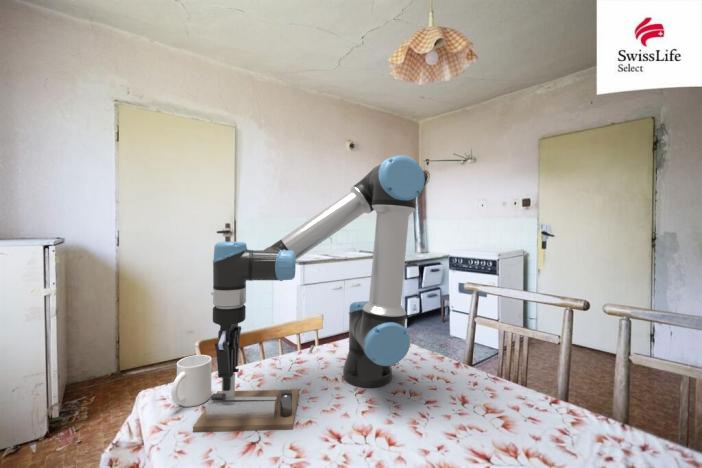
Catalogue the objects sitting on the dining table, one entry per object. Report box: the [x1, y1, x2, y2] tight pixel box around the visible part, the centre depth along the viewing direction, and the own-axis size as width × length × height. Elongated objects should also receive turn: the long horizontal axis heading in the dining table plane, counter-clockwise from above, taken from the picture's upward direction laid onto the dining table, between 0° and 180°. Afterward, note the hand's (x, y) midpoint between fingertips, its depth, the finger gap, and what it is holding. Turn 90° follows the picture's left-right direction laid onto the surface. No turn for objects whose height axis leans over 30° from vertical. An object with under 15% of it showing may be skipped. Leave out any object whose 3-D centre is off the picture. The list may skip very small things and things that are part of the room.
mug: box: [171, 354, 213, 408], centre depth 85 cm, size 12×8×10 cm
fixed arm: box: [205, 391, 292, 420], centre depth 78 cm, size 19×3×5 cm, turn 94°
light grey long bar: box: [209, 393, 277, 413], centre depth 79 cm, size 16×2×4 cm, turn 91°
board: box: [192, 389, 300, 433], centre depth 82 cm, size 22×16×1 cm
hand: (228, 400), depth 80 cm, fingers closed
